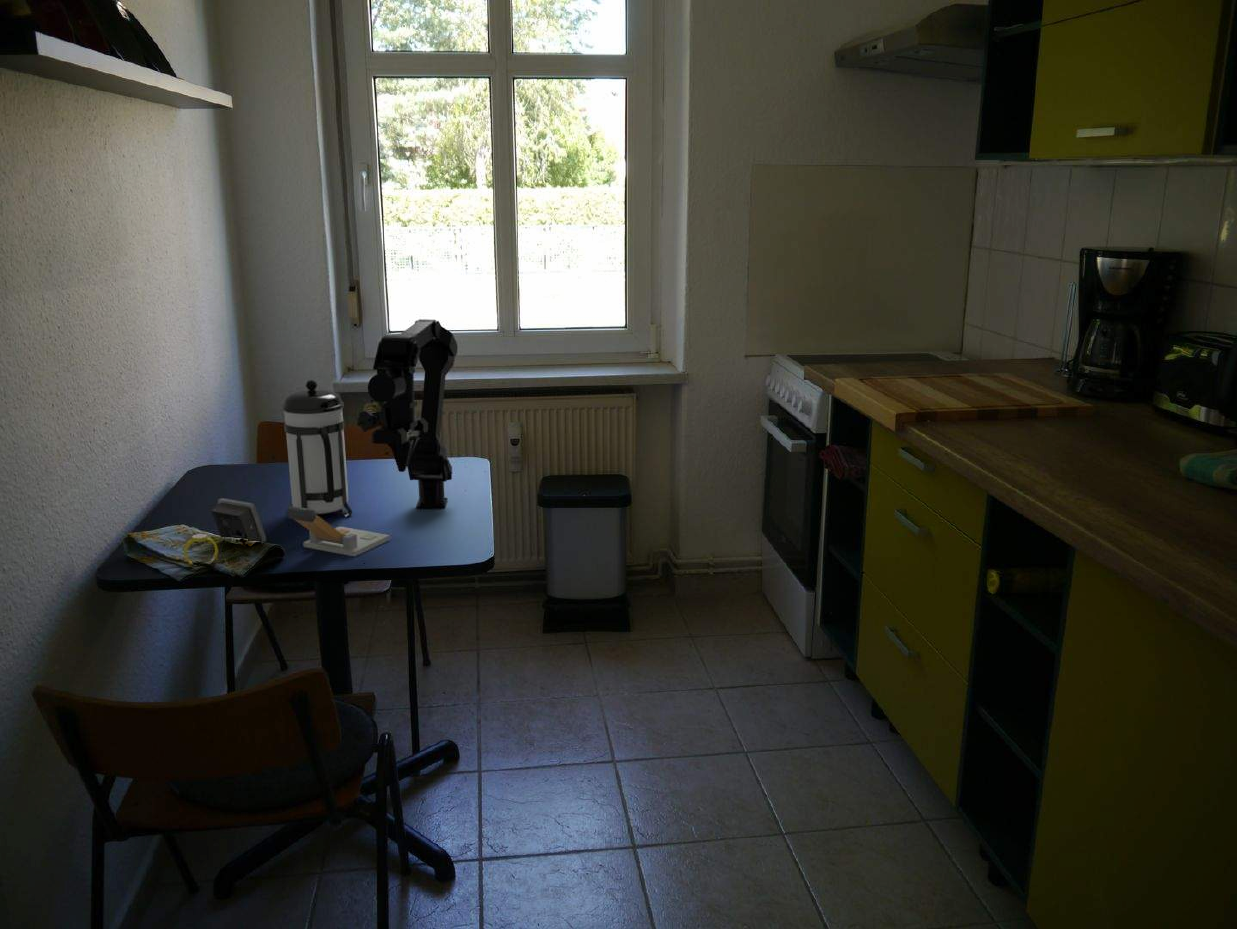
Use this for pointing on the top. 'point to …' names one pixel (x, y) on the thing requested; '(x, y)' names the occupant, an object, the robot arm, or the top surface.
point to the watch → (199, 538)
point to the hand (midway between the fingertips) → (401, 471)
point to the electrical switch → (238, 520)
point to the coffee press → (316, 450)
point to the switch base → (348, 541)
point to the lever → (315, 524)
